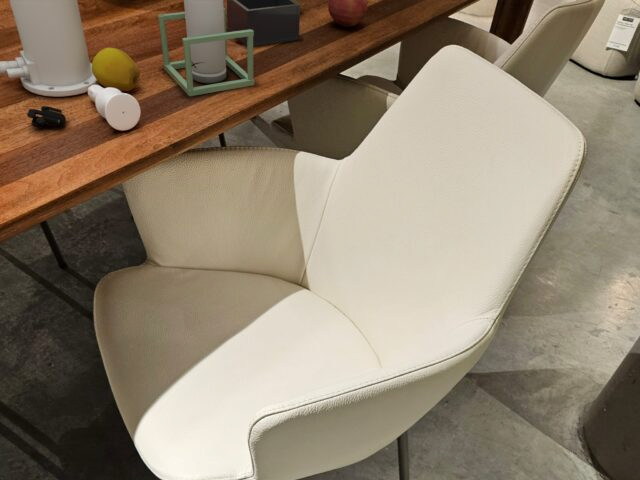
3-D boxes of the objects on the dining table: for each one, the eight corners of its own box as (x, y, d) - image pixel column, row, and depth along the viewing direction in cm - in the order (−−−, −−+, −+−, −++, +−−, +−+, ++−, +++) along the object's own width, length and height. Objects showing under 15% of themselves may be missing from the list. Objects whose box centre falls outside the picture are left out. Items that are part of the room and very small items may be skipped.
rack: (189, 96, 97) (184, 40, 90) (163, 68, 104) (157, 14, 97) (254, 85, 102) (254, 31, 95) (225, 59, 109) (223, 7, 102)
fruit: (320, 21, 126) (324, -31, 119) (354, 19, 129) (359, -32, 122) (336, 35, 121) (341, -19, 114) (370, 32, 124) (377, -21, 117)
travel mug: (192, 85, 100) (181, -49, 85) (188, 69, 104) (177, -61, 90) (229, 84, 101) (224, -49, 87) (223, 68, 106) (217, -60, 91)
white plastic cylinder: (100, 125, 84) (72, 102, 92) (135, 134, 88) (105, 112, 95) (110, 88, 82) (81, 68, 90) (145, 100, 86) (114, 79, 94)
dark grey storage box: (247, 47, 113) (247, 10, 109) (227, 30, 119) (226, -5, 114) (298, 40, 118) (300, 4, 113) (277, 24, 123) (277, -11, 119)
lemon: (153, 75, 98) (115, 49, 98) (138, 57, 91) (97, 30, 92) (131, 107, 98) (93, 81, 98) (115, 91, 91) (75, 64, 92)
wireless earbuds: (63, 123, 84) (24, 113, 82) (61, 140, 85) (23, 131, 83) (67, 109, 89) (31, 99, 87) (65, 125, 90) (29, 116, 88)
